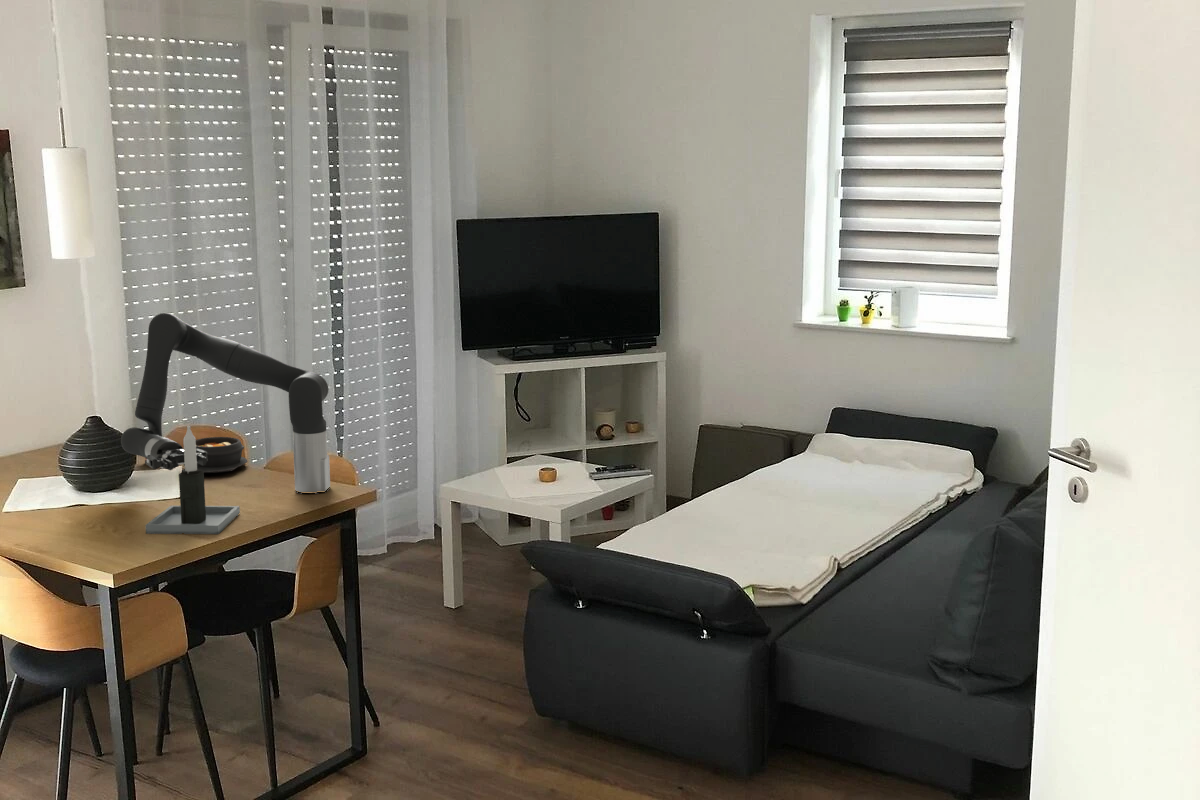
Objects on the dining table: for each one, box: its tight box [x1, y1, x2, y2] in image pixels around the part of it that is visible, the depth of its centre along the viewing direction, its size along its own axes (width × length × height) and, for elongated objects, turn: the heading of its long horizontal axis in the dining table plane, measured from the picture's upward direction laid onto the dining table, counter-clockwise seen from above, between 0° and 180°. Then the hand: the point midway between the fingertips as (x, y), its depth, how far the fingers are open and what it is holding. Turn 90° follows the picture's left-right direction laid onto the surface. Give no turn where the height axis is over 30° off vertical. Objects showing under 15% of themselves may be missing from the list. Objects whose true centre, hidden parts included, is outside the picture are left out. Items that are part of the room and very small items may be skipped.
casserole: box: [183, 436, 248, 474], centre depth 363 cm, size 25×19×8 cm
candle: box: [178, 424, 206, 524], centre depth 304 cm, size 5×5×25 cm
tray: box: [145, 505, 241, 535], centre depth 306 cm, size 18×18×2 cm
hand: (187, 463), depth 305 cm, fingers open, 8 cm apart
